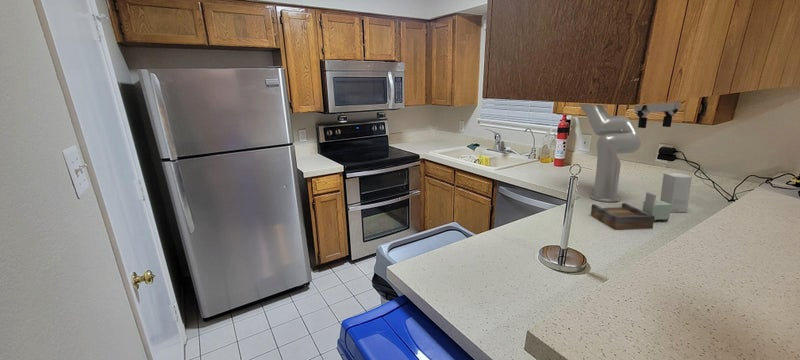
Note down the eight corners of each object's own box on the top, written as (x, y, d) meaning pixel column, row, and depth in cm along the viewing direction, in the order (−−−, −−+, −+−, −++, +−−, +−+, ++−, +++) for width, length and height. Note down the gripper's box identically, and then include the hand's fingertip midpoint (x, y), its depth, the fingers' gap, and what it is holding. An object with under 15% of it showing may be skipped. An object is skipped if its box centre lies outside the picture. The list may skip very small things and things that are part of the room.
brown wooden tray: (590, 215, 136) (591, 204, 135) (623, 213, 136) (625, 203, 135) (615, 229, 120) (617, 217, 119) (652, 228, 120) (654, 216, 119)
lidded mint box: (641, 218, 131) (645, 191, 128) (658, 217, 131) (662, 191, 128) (650, 222, 126) (655, 195, 123) (668, 221, 126) (673, 194, 123)
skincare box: (686, 212, 134) (693, 176, 130) (668, 212, 135) (675, 176, 132) (674, 206, 142) (680, 172, 138) (657, 206, 143) (663, 172, 140)
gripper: (674, 81, 124) (667, 125, 128) (631, 82, 123) (625, 127, 128) (692, 79, 116) (684, 127, 121) (646, 81, 116) (639, 129, 120)
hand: (654, 127), depth 124 cm, fingers open, 9 cm apart
